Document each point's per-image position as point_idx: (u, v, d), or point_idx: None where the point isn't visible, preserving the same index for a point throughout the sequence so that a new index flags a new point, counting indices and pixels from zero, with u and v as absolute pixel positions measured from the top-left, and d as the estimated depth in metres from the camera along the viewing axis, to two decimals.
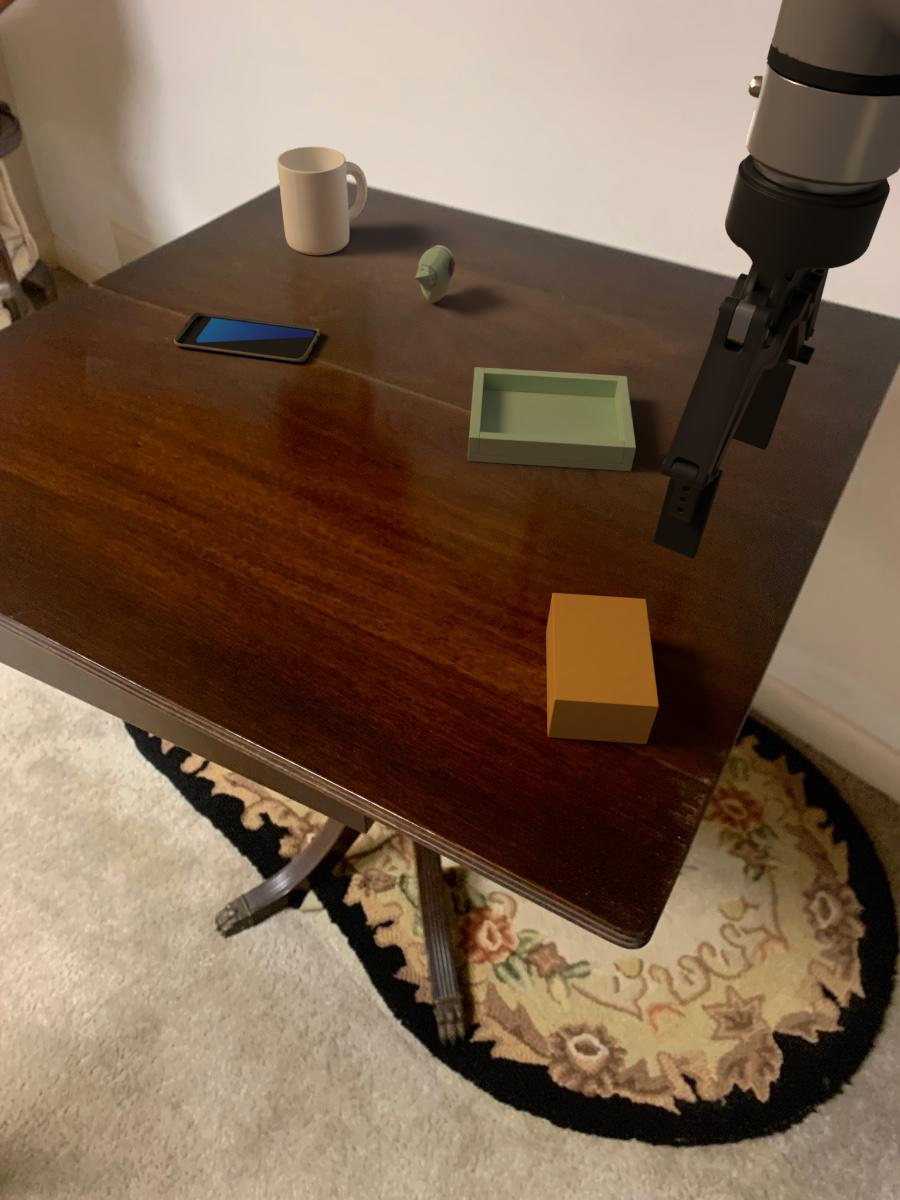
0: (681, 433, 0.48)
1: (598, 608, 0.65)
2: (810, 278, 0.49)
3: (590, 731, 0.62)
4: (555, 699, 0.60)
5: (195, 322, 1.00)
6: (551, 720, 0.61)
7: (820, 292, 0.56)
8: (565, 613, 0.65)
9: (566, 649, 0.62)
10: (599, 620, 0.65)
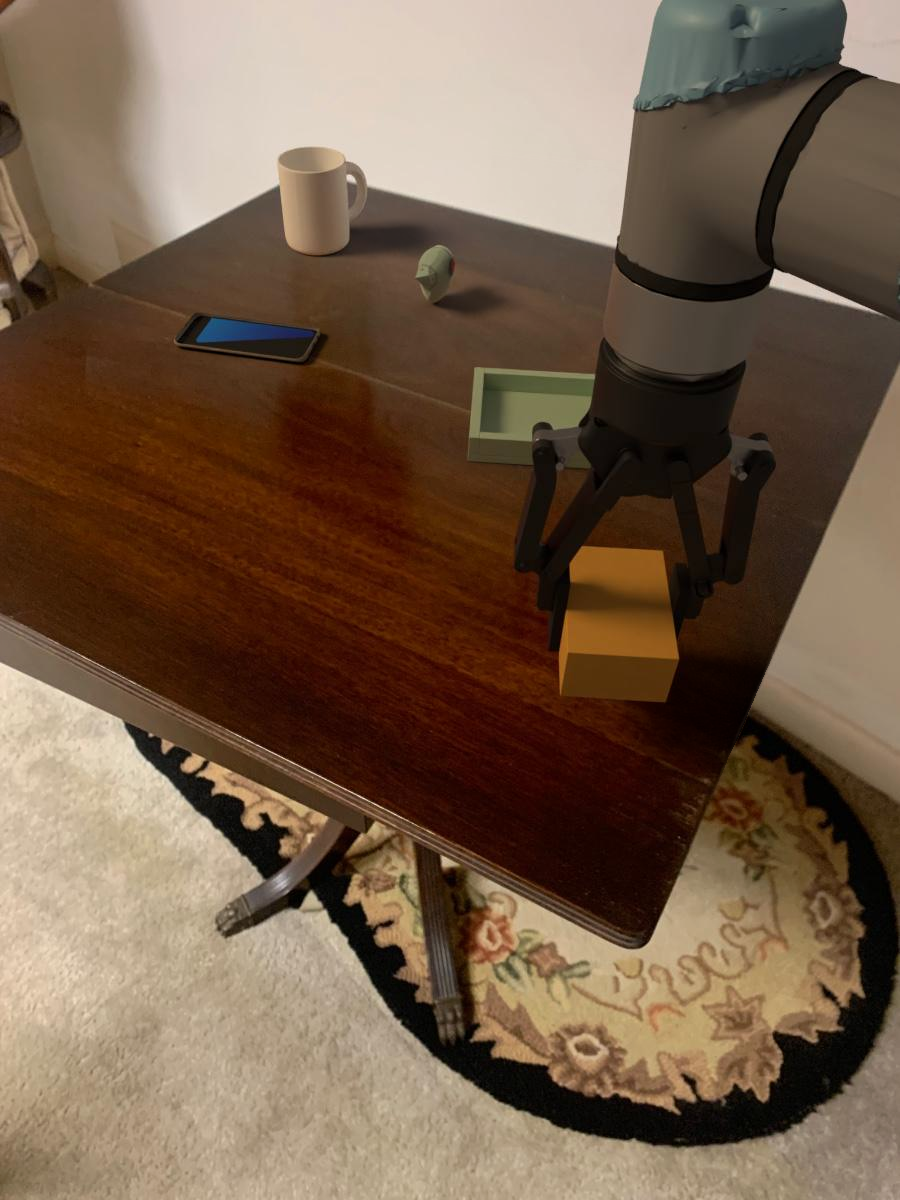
0: (520, 520, 0.56)
1: (612, 560, 0.61)
2: (674, 454, 0.49)
3: (605, 688, 0.58)
4: (568, 652, 0.56)
5: (195, 322, 1.00)
6: (564, 676, 0.57)
7: (741, 527, 0.52)
8: (578, 565, 0.61)
9: (579, 602, 0.59)
10: (613, 572, 0.61)
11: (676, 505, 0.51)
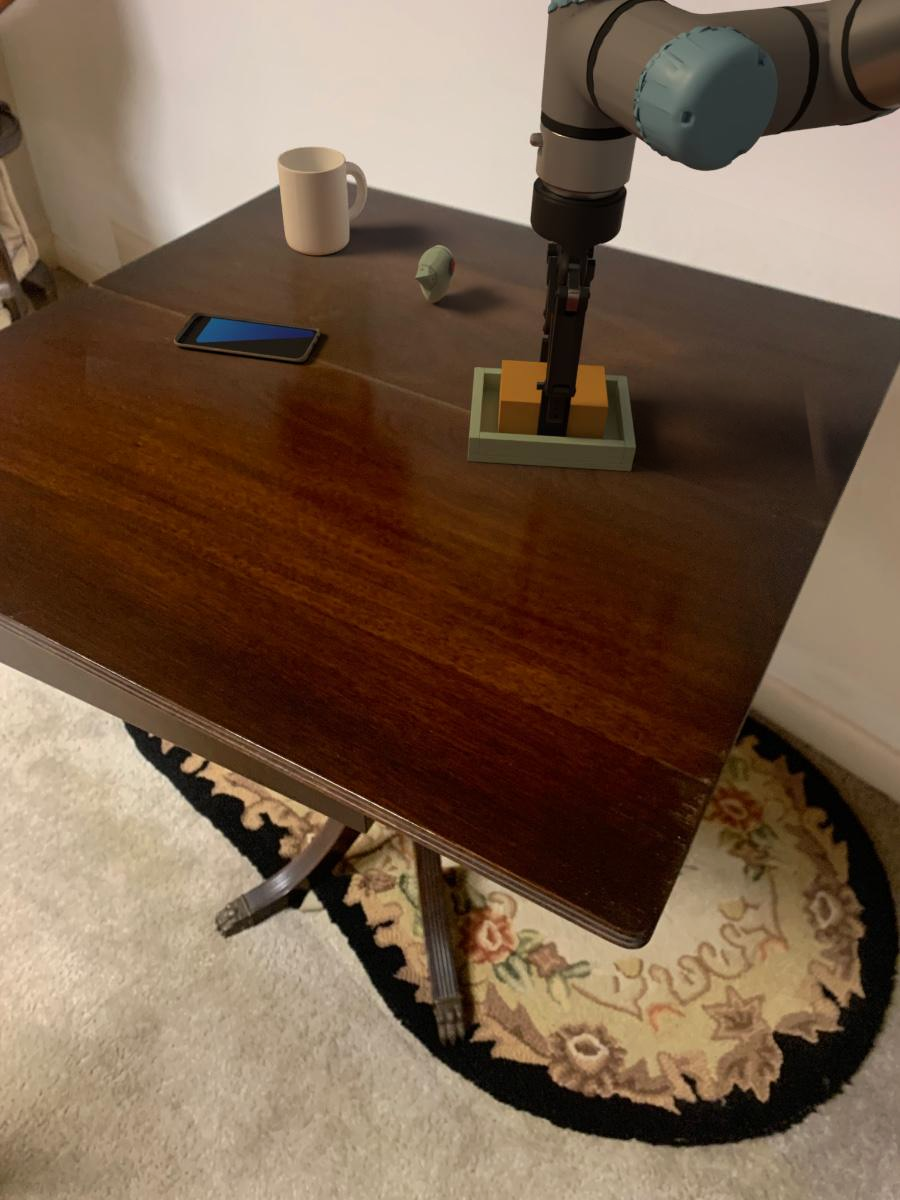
0: (552, 371, 0.75)
1: (515, 380, 0.84)
2: None
3: None
4: (607, 407, 0.82)
5: (195, 322, 1.00)
6: (603, 428, 0.84)
7: None
8: (523, 395, 0.82)
9: None
10: (527, 381, 0.84)
11: None
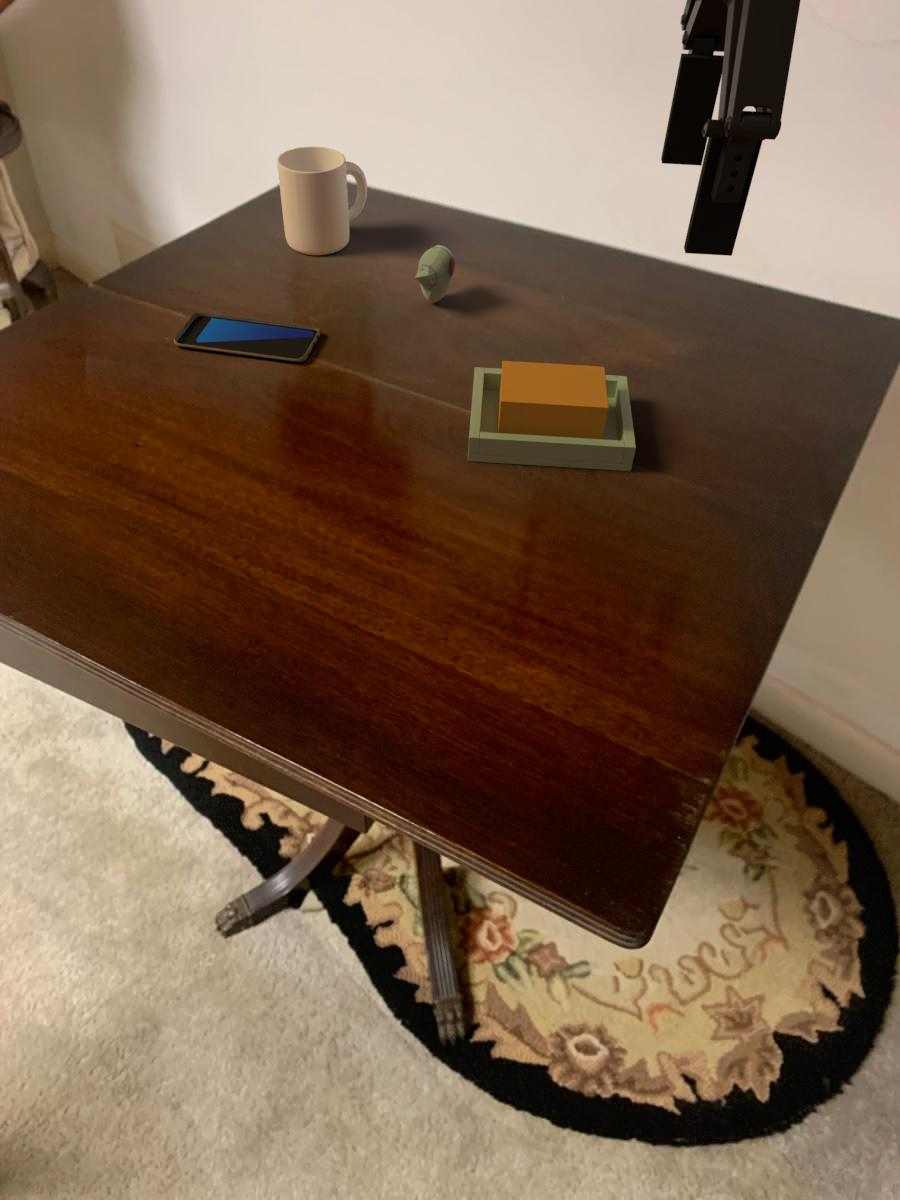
0: (744, 77, 0.43)
1: (515, 381, 0.84)
2: None
3: None
4: (607, 408, 0.82)
5: (195, 322, 1.00)
6: (604, 429, 0.83)
7: None
8: (523, 396, 0.82)
9: (560, 399, 0.82)
10: (527, 382, 0.84)
11: None
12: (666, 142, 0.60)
